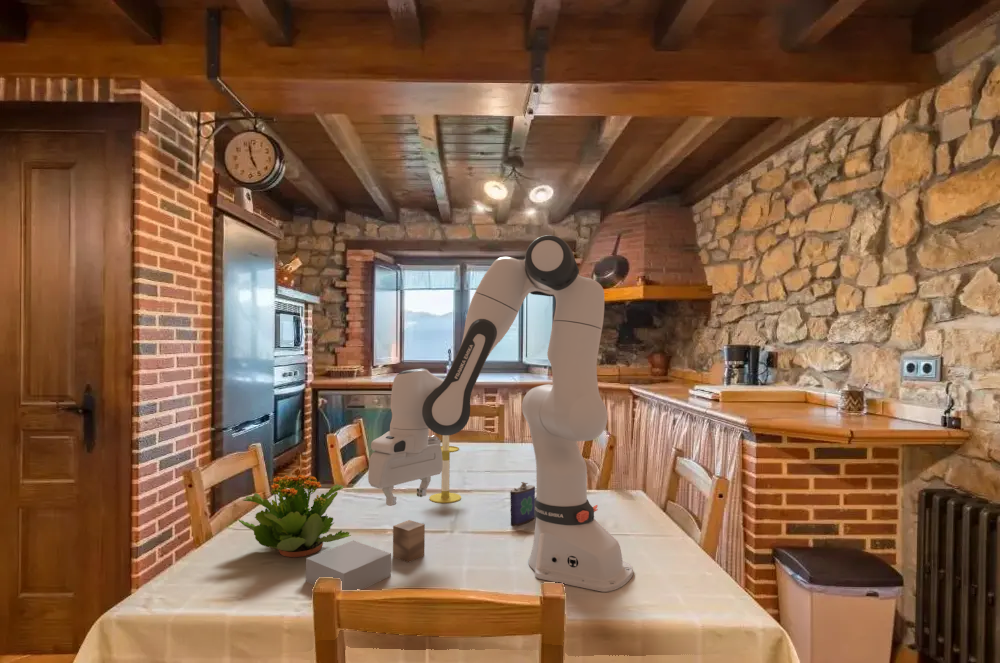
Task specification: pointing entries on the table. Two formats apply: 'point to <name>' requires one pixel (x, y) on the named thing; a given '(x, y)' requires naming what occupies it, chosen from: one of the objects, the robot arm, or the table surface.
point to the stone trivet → (350, 565)
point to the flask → (522, 504)
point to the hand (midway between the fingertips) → (406, 500)
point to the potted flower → (294, 517)
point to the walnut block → (408, 540)
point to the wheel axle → (445, 475)
